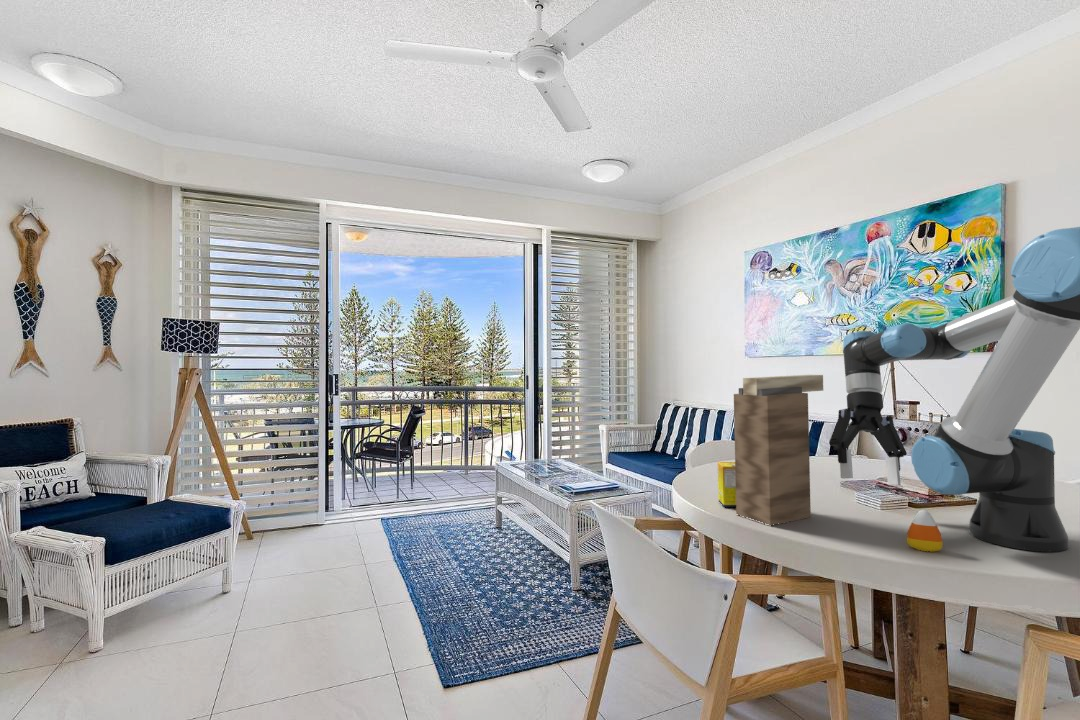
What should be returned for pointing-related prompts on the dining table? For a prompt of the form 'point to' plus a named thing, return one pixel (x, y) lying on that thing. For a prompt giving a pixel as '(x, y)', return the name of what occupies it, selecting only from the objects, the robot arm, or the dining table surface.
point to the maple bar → (783, 383)
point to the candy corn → (924, 533)
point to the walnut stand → (772, 455)
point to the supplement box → (727, 484)
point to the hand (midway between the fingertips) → (870, 481)
